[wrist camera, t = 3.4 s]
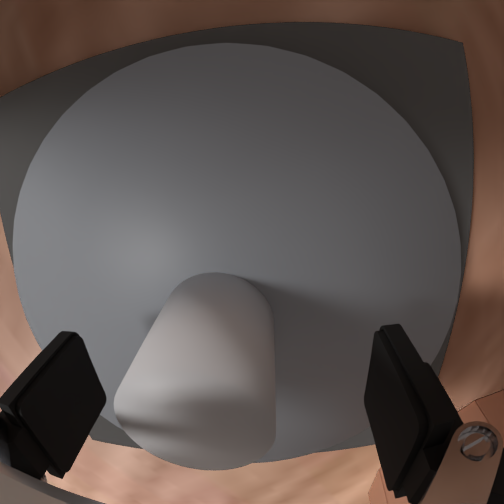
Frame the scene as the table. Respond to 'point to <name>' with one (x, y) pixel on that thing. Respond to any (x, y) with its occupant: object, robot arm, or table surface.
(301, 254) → the lid
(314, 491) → the table surface
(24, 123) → the mat
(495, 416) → the bowl
